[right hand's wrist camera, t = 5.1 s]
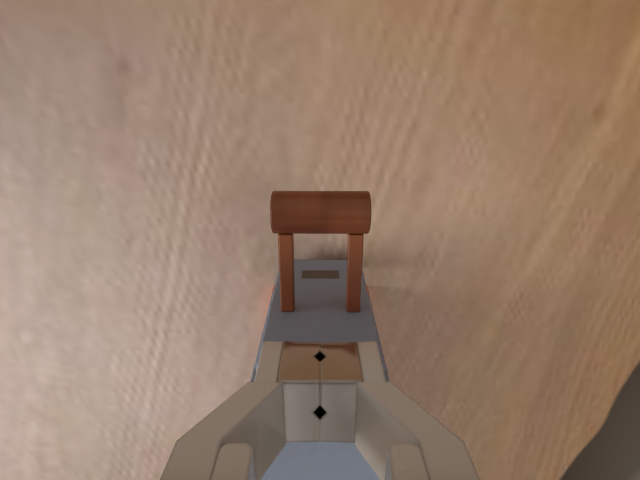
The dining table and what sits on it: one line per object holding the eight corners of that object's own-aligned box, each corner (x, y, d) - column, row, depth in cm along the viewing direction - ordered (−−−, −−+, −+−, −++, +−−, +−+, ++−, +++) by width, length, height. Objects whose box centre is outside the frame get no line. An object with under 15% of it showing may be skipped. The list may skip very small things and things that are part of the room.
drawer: (277, 167, 21) (245, 221, 12) (363, 167, 21) (396, 221, 12) (289, 489, 29) (275, 662, 20) (350, 489, 29) (363, 663, 20)
